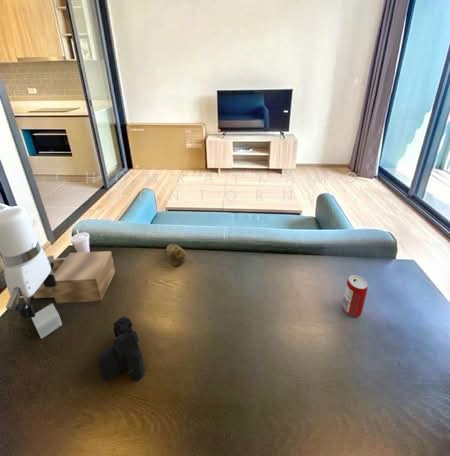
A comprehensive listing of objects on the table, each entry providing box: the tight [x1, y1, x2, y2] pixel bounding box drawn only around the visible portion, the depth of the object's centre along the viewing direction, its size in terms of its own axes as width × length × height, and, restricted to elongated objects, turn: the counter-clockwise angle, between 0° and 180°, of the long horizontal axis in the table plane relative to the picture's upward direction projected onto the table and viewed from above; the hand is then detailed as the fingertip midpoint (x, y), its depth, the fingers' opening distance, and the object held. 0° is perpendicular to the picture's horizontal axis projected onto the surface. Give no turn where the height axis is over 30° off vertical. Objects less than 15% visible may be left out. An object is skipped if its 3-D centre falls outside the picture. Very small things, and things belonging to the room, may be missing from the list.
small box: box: [31, 303, 63, 339], centre depth 74 cm, size 6×6×5 cm
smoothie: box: [70, 228, 91, 253], centre depth 99 cm, size 6×6×14 cm
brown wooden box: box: [51, 250, 116, 304], centre depth 86 cm, size 15×13×10 cm
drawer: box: [22, 257, 67, 302], centre depth 86 cm, size 18×11×8 cm, turn 93°
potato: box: [165, 243, 188, 268], centre depth 97 cm, size 8×13×8 cm, turn 9°
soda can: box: [341, 274, 368, 318], centre depth 77 cm, size 6×6×12 cm
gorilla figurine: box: [96, 316, 146, 383], centre depth 64 cm, size 15×10×9 cm, turn 36°
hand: (40, 300), depth 71 cm, fingers open, 9 cm apart
